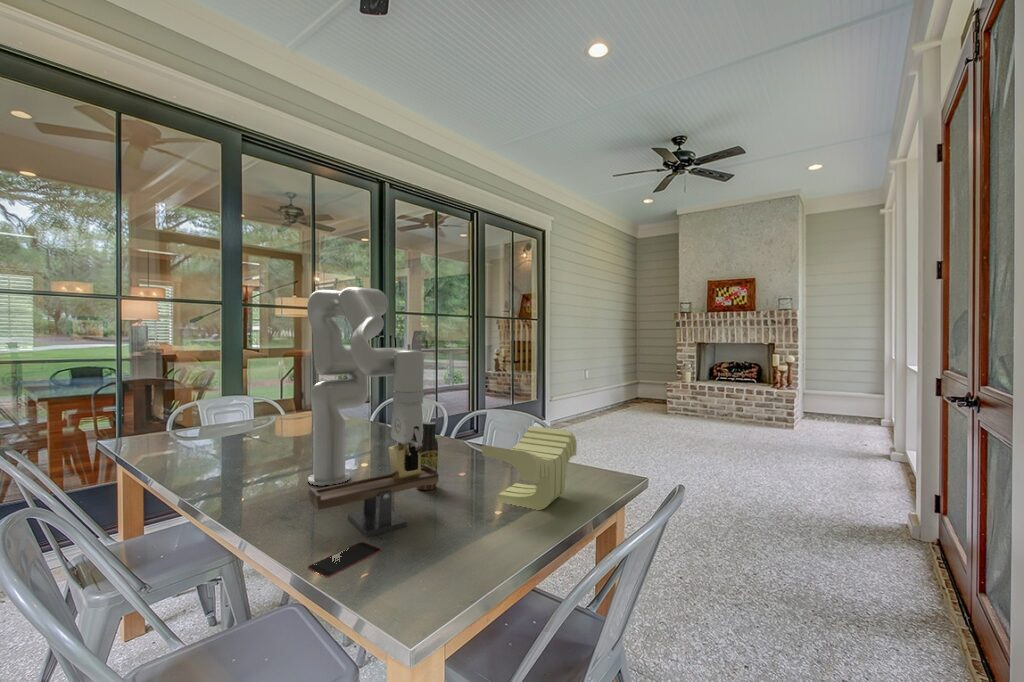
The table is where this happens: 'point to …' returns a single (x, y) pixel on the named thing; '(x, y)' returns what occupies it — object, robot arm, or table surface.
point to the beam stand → (377, 515)
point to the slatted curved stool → (536, 466)
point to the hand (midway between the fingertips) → (406, 466)
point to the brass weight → (401, 463)
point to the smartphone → (344, 559)
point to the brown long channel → (367, 488)
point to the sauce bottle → (429, 450)
